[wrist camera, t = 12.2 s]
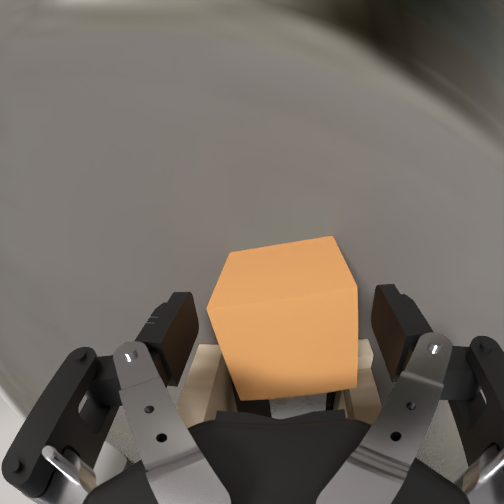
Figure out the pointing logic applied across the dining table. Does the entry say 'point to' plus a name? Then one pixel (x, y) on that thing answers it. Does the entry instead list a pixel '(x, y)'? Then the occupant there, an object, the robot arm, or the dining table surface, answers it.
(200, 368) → the bridge channel
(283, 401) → the grey long rectangular bar
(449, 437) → the dining table surface
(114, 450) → the cup
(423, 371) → the robot arm
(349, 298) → the block
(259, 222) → the dining table surface
